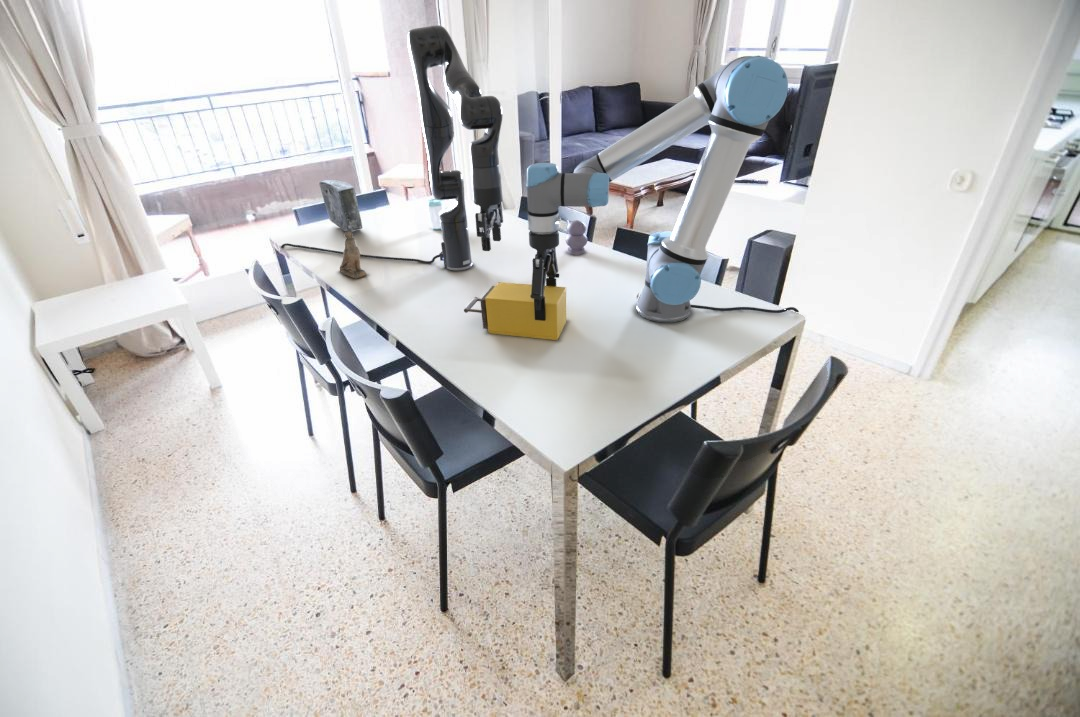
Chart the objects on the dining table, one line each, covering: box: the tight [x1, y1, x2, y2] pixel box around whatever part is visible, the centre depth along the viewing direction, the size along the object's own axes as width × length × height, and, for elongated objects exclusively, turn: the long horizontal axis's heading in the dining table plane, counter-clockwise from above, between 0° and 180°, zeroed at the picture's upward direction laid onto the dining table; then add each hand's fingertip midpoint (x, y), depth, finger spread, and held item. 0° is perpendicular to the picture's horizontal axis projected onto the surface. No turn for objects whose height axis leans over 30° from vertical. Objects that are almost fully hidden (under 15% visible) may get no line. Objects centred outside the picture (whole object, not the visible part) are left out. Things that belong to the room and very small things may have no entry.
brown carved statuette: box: [339, 230, 367, 280], centre depth 174 cm, size 12×6×18 cm, turn 43°
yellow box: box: [485, 281, 567, 341], centre depth 136 cm, size 20×11×11 cm, turn 75°
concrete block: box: [318, 178, 363, 233], centre depth 220 cm, size 27×9×20 cm, turn 36°
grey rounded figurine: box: [565, 219, 588, 256], centre depth 186 cm, size 8×8×12 cm
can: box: [426, 198, 445, 230], centre depth 220 cm, size 7×7×12 cm
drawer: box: [463, 285, 496, 330], centre depth 137 cm, size 24×10×9 cm, turn 75°
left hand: (492, 245), depth 136 cm, fingers open, 8 cm apart
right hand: (546, 309), depth 134 cm, fingers open, 11 cm apart
